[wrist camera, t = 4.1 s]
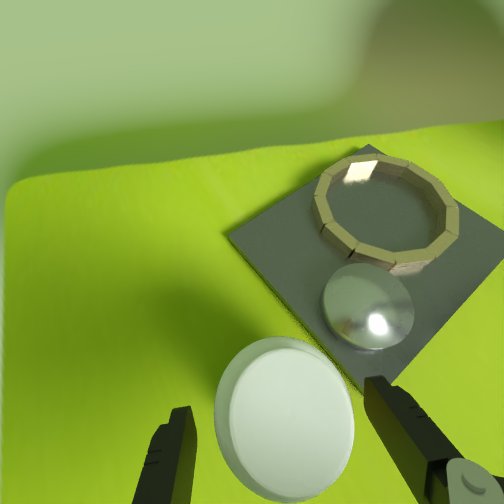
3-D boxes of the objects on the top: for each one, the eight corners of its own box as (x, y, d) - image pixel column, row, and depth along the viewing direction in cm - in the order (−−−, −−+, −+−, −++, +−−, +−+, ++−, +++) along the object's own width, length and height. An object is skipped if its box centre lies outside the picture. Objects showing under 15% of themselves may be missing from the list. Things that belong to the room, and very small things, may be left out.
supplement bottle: (310, 462, 15) (391, 574, 6) (222, 440, 16) (175, 513, 7) (316, 363, 18) (378, 339, 9) (240, 348, 18) (224, 311, 9)
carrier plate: (365, 151, 28) (374, 131, 26) (508, 246, 22) (536, 231, 20) (229, 240, 23) (226, 225, 20) (368, 401, 16) (385, 403, 14)
